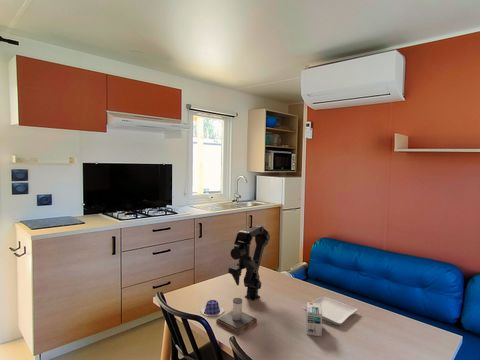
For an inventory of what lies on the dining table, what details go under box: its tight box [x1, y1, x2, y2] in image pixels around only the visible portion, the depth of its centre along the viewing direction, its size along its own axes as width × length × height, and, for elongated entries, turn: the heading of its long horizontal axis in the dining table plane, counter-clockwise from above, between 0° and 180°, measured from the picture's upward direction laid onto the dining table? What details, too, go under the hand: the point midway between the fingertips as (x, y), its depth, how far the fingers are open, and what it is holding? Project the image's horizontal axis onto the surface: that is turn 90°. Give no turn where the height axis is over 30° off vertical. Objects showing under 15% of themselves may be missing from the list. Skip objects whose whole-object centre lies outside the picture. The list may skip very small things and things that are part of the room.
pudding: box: [200, 299, 225, 317], centre depth 160 cm, size 12×12×5 cm
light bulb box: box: [306, 301, 323, 337], centre depth 145 cm, size 11×7×11 cm, turn 168°
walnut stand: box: [215, 310, 258, 336], centre depth 149 cm, size 14×14×2 cm
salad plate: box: [302, 295, 359, 326], centre depth 161 cm, size 21×21×3 cm
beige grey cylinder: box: [232, 297, 243, 320], centre depth 149 cm, size 4×4×9 cm
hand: (243, 282), depth 165 cm, fingers open, 9 cm apart
